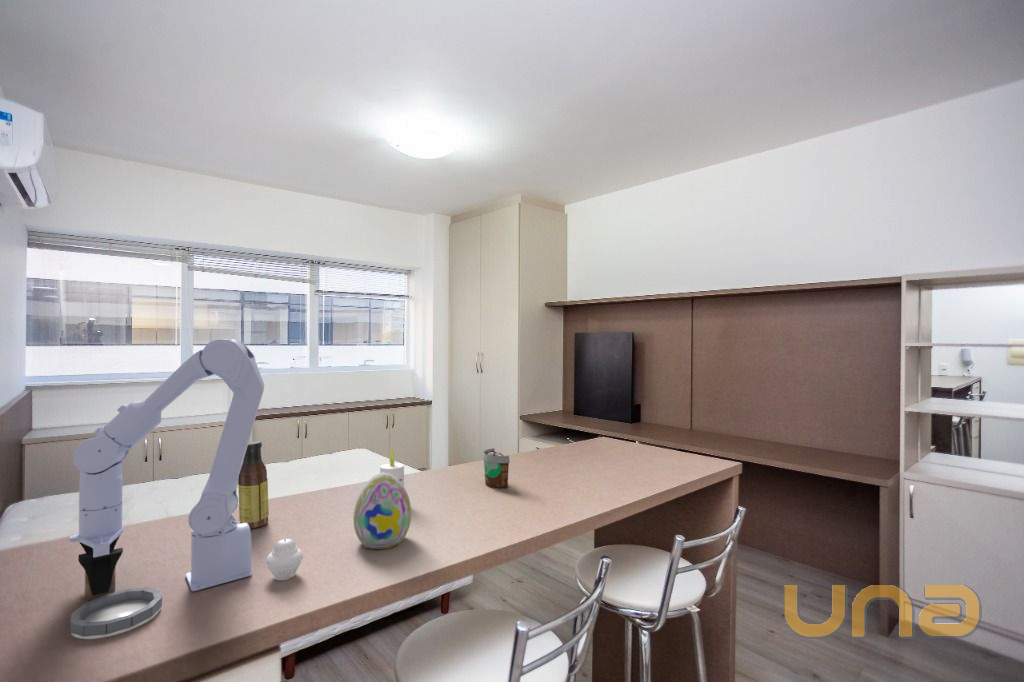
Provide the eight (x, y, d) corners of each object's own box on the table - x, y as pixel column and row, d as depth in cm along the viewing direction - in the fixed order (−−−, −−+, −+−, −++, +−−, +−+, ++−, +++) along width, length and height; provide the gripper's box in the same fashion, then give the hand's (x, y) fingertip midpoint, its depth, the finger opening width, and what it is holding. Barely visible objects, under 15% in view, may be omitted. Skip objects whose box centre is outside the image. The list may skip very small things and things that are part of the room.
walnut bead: (114, 586, 86) (115, 551, 86) (115, 594, 83) (116, 559, 83) (84, 593, 84) (85, 558, 84) (84, 602, 81) (85, 566, 81)
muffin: (308, 568, 93) (308, 532, 93) (294, 584, 87) (294, 545, 87) (275, 569, 93) (275, 532, 93) (259, 585, 87) (259, 545, 87)
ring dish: (157, 592, 84) (157, 581, 84) (164, 620, 76) (164, 607, 76) (71, 616, 77) (71, 603, 77) (69, 649, 68) (69, 634, 68)
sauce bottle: (261, 518, 120) (262, 438, 120) (273, 524, 116) (273, 441, 116) (233, 526, 115) (233, 442, 115) (244, 532, 111) (245, 445, 111)
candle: (390, 510, 126) (390, 452, 126) (374, 505, 130) (375, 449, 130) (409, 504, 131) (409, 448, 131) (393, 499, 135) (394, 445, 135)
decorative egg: (351, 556, 99) (352, 482, 99) (354, 534, 110) (355, 468, 110) (413, 550, 102) (413, 478, 102) (409, 528, 114) (409, 464, 114)
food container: (475, 481, 153) (475, 449, 153) (493, 479, 156) (493, 447, 156) (490, 492, 142) (490, 457, 142) (509, 489, 145) (509, 455, 145)
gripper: (71, 500, 87) (70, 576, 86) (68, 522, 76) (67, 610, 76) (121, 492, 91) (121, 564, 91) (125, 512, 80) (125, 595, 80)
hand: (100, 584), depth 84 cm, fingers open, 7 cm apart
